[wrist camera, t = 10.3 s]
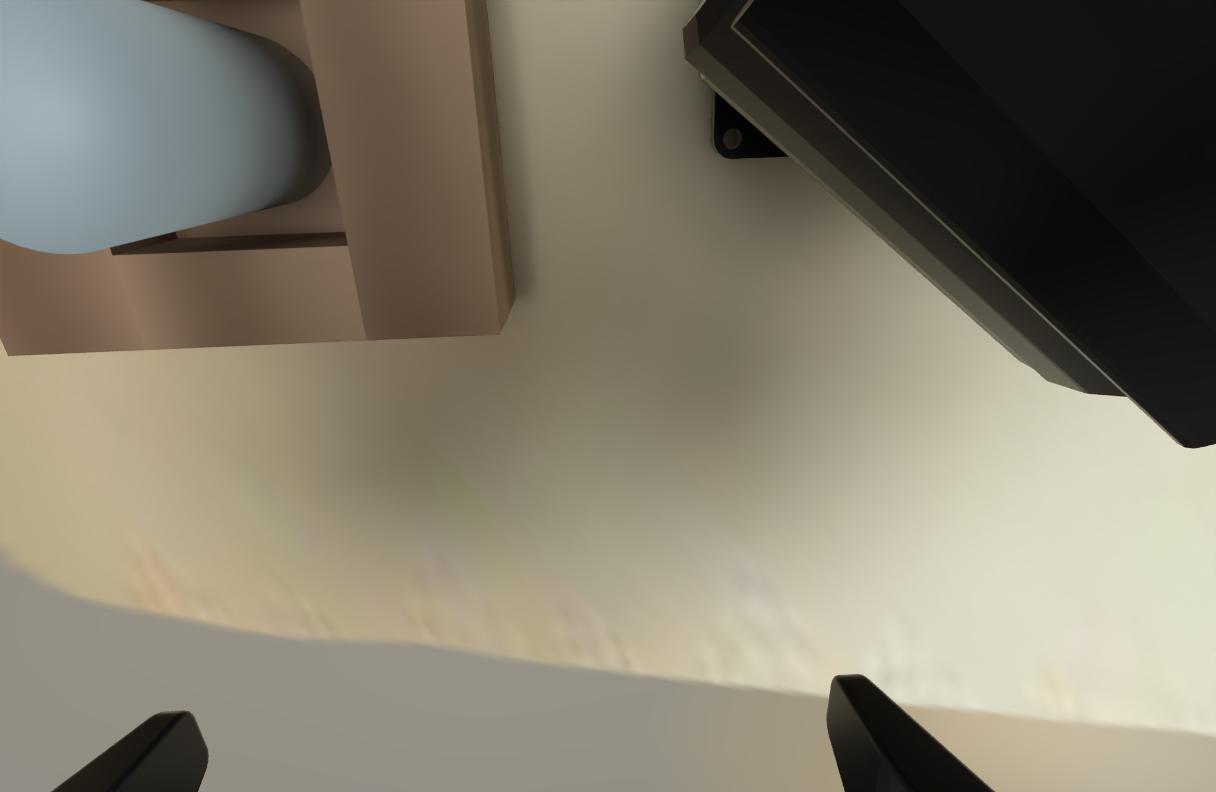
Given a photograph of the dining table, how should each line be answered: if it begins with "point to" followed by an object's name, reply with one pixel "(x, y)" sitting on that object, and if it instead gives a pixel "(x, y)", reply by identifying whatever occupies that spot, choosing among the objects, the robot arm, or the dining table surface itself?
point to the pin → (145, 123)
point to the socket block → (316, 207)
